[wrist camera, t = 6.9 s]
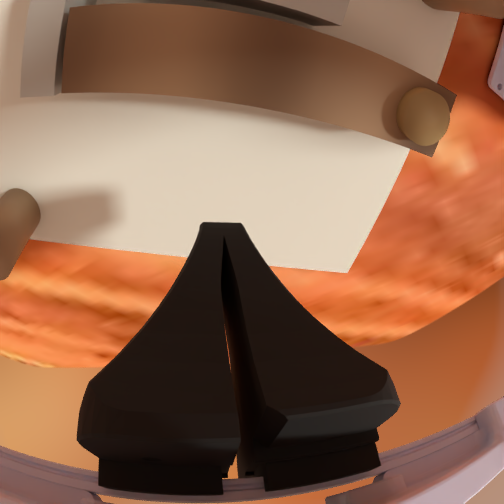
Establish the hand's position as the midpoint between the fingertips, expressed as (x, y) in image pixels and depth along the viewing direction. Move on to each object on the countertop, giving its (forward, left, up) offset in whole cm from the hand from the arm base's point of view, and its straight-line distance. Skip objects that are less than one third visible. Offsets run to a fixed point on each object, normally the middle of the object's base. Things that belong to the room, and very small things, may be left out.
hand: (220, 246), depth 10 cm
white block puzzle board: (+2, -5, -6) cm, 8 cm away
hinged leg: (-1, -6, -5) cm, 8 cm away
